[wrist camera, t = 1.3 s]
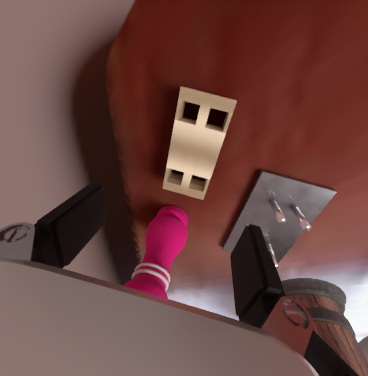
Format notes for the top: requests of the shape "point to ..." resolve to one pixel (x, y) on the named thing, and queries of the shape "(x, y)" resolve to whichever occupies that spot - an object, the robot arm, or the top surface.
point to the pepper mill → (160, 251)
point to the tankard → (328, 318)
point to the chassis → (279, 211)
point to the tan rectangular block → (195, 143)
